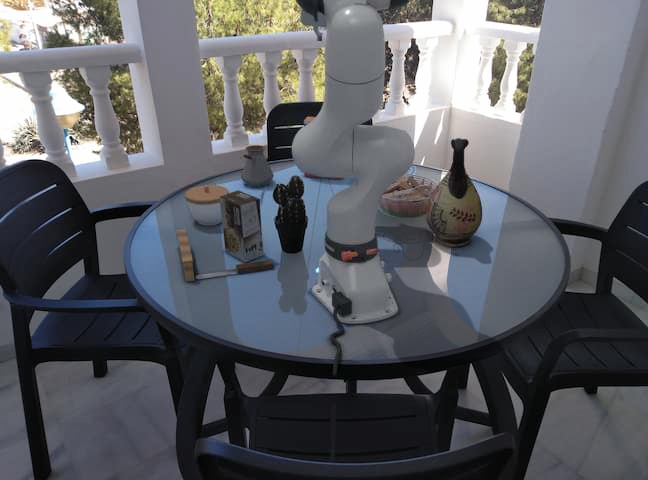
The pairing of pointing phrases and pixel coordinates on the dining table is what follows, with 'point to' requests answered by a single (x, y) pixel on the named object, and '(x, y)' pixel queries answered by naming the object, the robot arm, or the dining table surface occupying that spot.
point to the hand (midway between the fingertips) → (336, 41)
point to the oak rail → (186, 254)
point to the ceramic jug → (455, 203)
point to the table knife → (240, 269)
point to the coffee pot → (256, 167)
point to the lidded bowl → (205, 203)
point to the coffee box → (241, 225)
